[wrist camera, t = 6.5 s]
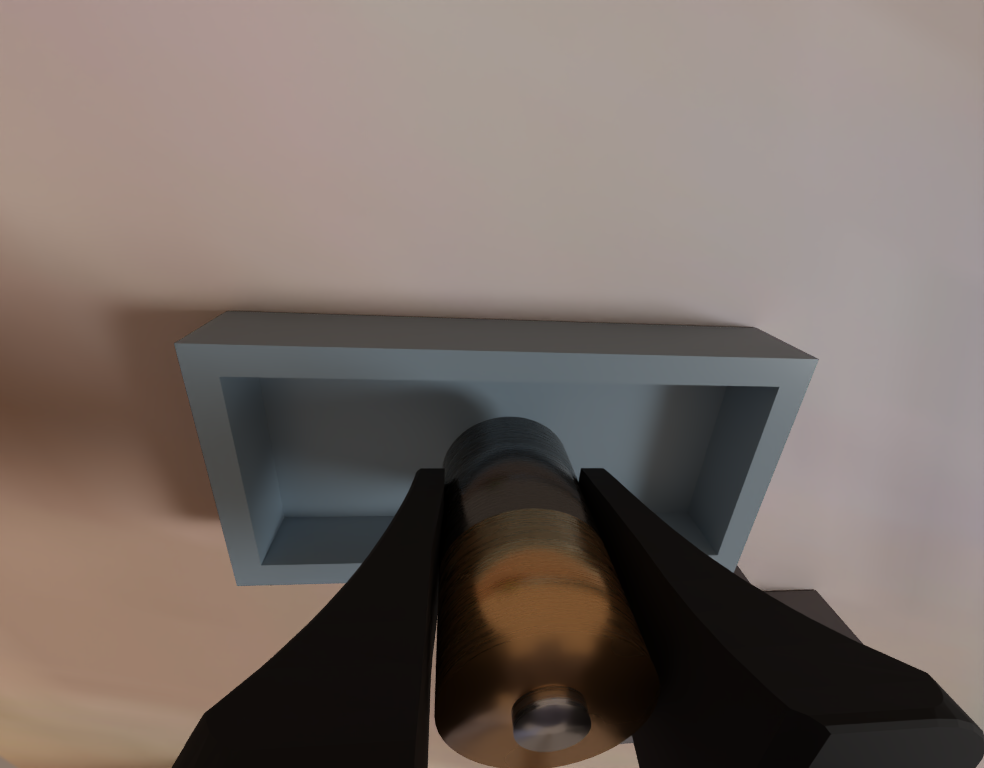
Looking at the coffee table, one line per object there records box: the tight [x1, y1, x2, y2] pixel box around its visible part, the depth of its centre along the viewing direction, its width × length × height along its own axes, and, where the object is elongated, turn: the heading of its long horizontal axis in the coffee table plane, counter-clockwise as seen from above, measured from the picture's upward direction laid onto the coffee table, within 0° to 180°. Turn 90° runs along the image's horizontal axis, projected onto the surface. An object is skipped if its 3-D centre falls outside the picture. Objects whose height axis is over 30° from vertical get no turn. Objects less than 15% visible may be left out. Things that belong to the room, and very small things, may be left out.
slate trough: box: [174, 311, 819, 586], centre depth 13 cm, size 16×8×3 cm, turn 87°
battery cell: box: [434, 417, 660, 768], centre depth 10 cm, size 4×4×6 cm
